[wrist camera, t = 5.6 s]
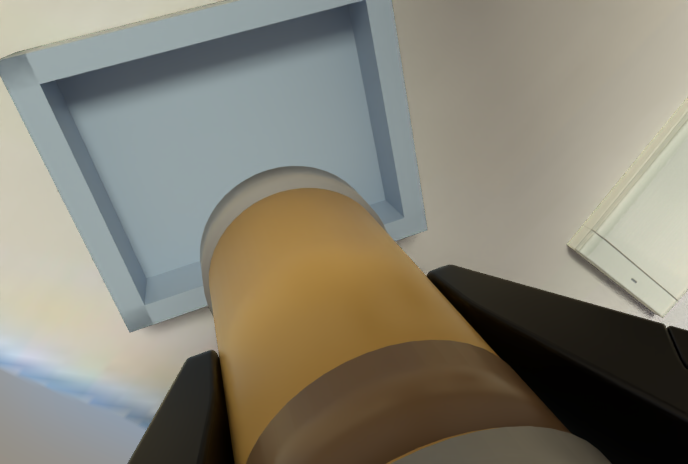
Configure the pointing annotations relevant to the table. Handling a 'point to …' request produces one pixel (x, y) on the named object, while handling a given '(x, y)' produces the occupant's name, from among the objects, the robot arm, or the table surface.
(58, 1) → the table surface
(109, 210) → the tray
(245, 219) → the fuse
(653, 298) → the hard drive
